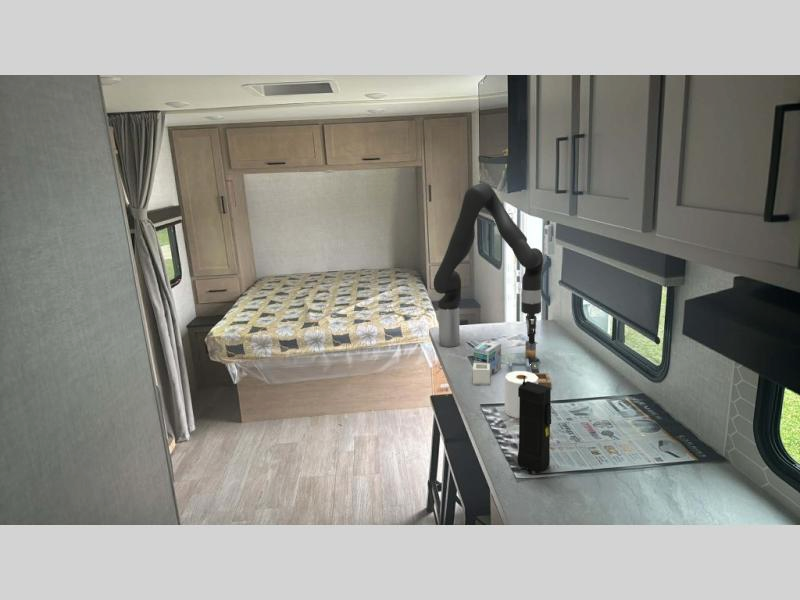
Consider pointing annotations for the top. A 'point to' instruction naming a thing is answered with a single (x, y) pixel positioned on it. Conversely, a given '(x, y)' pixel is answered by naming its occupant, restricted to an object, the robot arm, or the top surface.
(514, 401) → the toilet paper
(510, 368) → the tray
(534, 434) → the portable radio
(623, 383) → the top surface
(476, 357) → the light bulb box
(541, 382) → the trough
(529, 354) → the cell
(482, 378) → the pot
